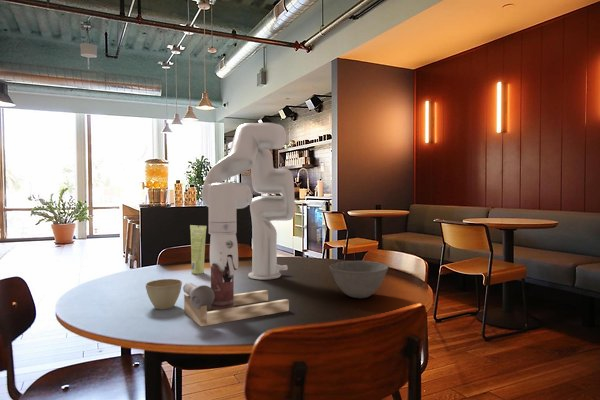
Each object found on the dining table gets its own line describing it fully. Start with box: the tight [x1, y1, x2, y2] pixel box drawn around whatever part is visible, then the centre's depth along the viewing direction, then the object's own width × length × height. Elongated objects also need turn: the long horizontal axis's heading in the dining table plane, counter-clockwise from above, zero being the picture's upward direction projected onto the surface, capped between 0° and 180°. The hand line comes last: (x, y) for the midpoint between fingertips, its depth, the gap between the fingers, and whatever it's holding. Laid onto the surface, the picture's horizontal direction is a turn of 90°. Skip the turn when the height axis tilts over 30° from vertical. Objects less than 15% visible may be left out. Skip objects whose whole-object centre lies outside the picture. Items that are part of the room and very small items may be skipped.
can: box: [210, 264, 235, 311], centre depth 112 cm, size 6×6×14 cm
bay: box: [182, 282, 290, 327], centre depth 114 cm, size 28×16×10 cm, turn 122°
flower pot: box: [145, 278, 183, 310], centre depth 119 cm, size 10×10×7 cm
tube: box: [189, 224, 207, 275], centre depth 167 cm, size 6×5×20 cm
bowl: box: [328, 260, 389, 299], centre depth 132 cm, size 19×19×10 cm
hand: (222, 294), depth 113 cm, fingers open, 3 cm apart
